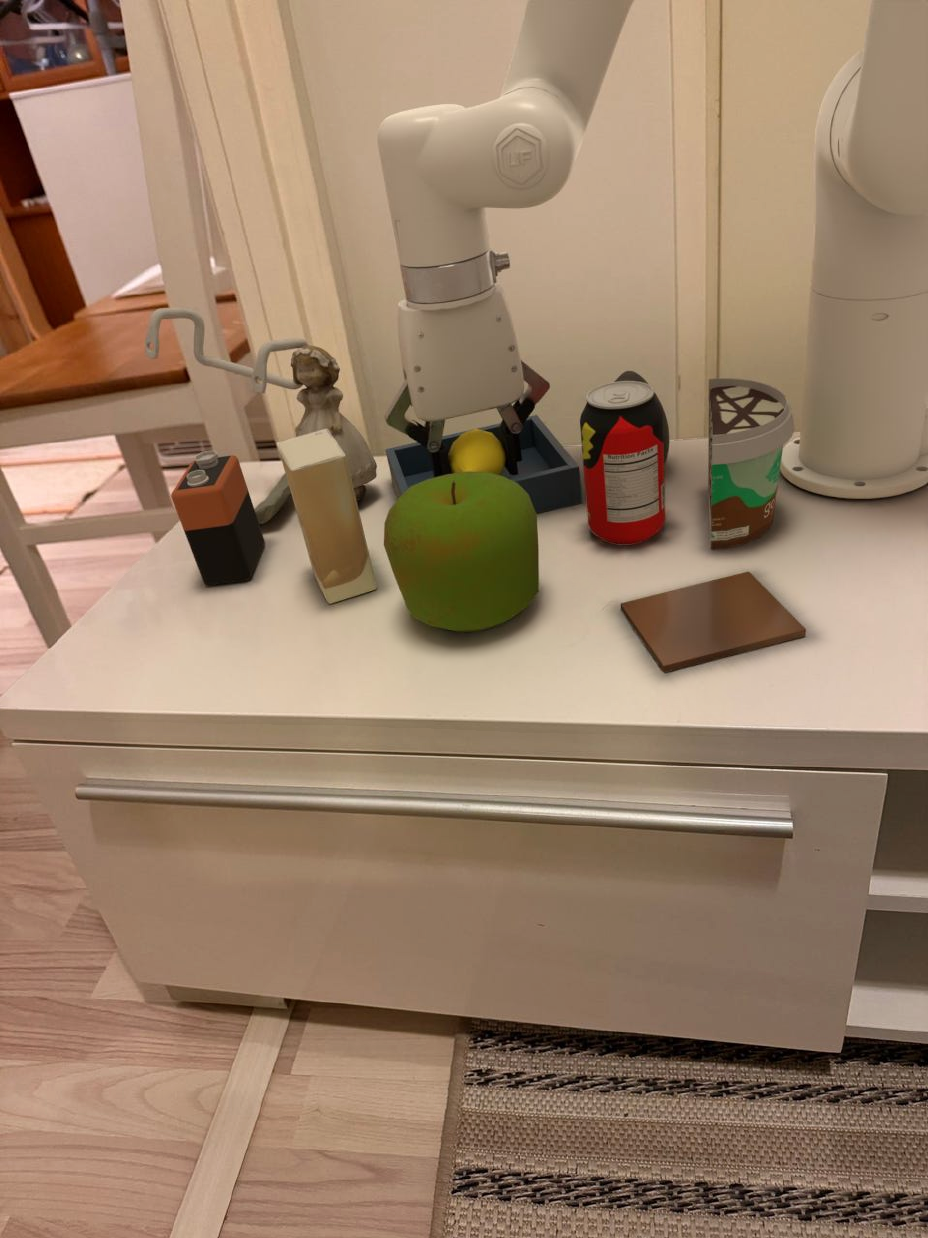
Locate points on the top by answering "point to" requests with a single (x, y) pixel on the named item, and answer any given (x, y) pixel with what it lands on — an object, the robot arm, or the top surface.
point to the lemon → (477, 453)
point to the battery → (218, 518)
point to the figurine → (330, 412)
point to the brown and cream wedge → (744, 457)
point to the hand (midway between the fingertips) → (478, 475)
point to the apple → (464, 550)
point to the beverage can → (623, 462)
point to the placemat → (710, 621)
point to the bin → (539, 472)
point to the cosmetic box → (328, 514)
